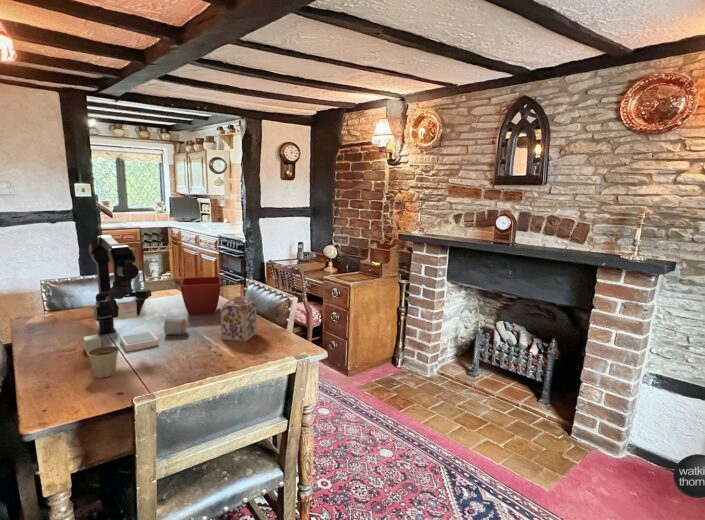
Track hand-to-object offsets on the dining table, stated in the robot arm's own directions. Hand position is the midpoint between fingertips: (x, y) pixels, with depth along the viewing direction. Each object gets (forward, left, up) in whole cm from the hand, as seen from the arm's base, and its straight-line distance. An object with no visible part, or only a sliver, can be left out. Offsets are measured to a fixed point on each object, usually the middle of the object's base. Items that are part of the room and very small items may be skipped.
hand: (126, 316), depth 163 cm
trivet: (-3, +5, -13) cm, 14 cm away
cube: (-7, -11, -13) cm, 19 cm away
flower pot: (+21, -11, -14) cm, 27 cm away
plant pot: (-34, +42, -14) cm, 56 cm away
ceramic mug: (-8, +21, -14) cm, 26 cm away
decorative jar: (+12, +42, -14) cm, 46 cm away
